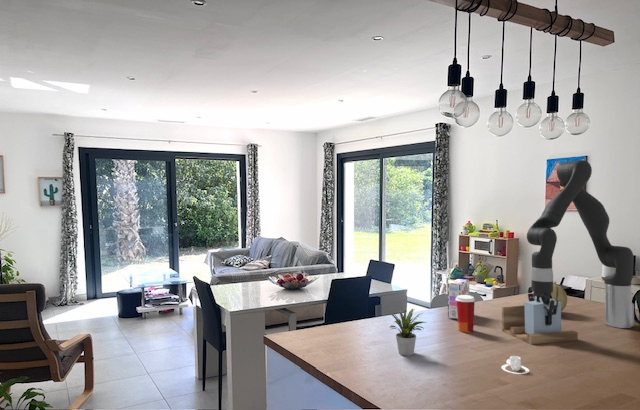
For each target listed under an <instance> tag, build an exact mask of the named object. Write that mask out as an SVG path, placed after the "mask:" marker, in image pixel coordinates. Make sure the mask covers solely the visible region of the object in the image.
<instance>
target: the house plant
mask: <svg viewBox="0 0 640 410" xmlns="http://www.w3.org/2000/svg"><path fill="white" fill-rule="evenodd" d="M406 306H407V305H405V307H404V311H403V312H402V311H401V310H400V309H398V313H399V317H400V318H398V316H397V315H396V314H395V312H394V311H390V312H388V314H389V315H390V316H392V317H393V318H394V319H395V320H394V323H395V324H397V325H398V327H399V328H398V327H397V326H396V325H393V324H391V325H390V326H388V327H389V329H390V330H398V331H399V332H398V333H395V337H396V338H395V339H396V343H397V344H396V345H397V351H398V354H400V355H402V356H412V355H414V354H415V347H416V340H417V335H416V334H415V333H413V332H414V331H417V330H418V331H421V332H423V330H425V328H424V327H423V326H421V325H420V324H425V323H428V322H427V321H426V322H425V321H416V320H417V319H418V318H419V317H420V315H422V314H423V312H421V313H419V314H417V315H416V316H415V317H413V318H412V316H413V313H414V311H415V310H416V309H415V308H411V309H410V310H409V312H408V314H407V310H406V309H407V307H406ZM419 325H420V326H419ZM422 329H423V330H422Z"/></svg>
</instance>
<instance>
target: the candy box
mask: <svg viewBox="0 0 640 410" xmlns="http://www.w3.org/2000/svg"><path fill="white" fill-rule="evenodd" d="M458 295H469V296H470V279H463V278H457V279H455V280H452V281H450V282H448V283H447V319H450V320H456V321H458V314H457V301H456V300H455V299H456V297H457V296H458Z"/></svg>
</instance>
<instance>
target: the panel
mask: <svg viewBox="0 0 640 410" xmlns="http://www.w3.org/2000/svg"><path fill="white" fill-rule="evenodd" d="M523 303H524V304H523V305H525V333H527V334H539V333H551V332H561V331H562V311H561V303H560V302H558V307H557V313H556V315H552V324H551V325H545V310H544V307H543V304H542V303H541V302H536V301H529V300H528V301H524V302H523ZM545 306H546V307H549V306H550V304H549V305H545ZM547 311H548V312H549V309H547ZM552 312H553V310H552Z"/></svg>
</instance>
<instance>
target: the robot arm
mask: <svg viewBox="0 0 640 410" xmlns="http://www.w3.org/2000/svg"><path fill="white" fill-rule="evenodd" d="M592 171H593V169H592V165H591V164H590V162H588V161H587V160H585V159H578V160H577V159H576V160H571V161H563V162H561V163H559V164H558V165H557V166H556V176H557V179H558V181H559V182H560V184H561V186H562V187H563V188H562V189H561V190H560V191H559V192H558V193H557V194H556V195H554V196H553V197H552V198H551V199H550V200H549V201H548V203H547V204H546V206H545V208H544V210H543V211H542V212H541V213H542V214H541V216H539V217H538V218H537V219H536V221H534V223H533V224H532V225H531V226H530V227H529V229H528V231H527V233H526V241H527V242H528V243H529V244H530V245H532V246H540V248H539V251H534V252H533V253H532V254H531V273H530V274H531V275H530V276H531V277H530V278H531V283H530V284H531V285H530V286H531V291H532V292H533V291H534V293H532V292H531V293H527V296H528V301H536V302H541V303H542V304H543V307H544V310H545V325H551V324H552V315H556V313H557V307H558V300H554V299H552V295H551V293H552V292H553V283H554V271H553V256H554V253H555V249H556V244H557V241H558V239H557V238H558V237H557V233H556V231H555V230H554V229H553V228H556V227H558V226H559V225H560V223H561V222H562V219H563V218H564V216H565V213H566V212H567V210H568V209H569V207H570V205H571V204H572V203H573V205H574V207H575V209H576V211H577V214H578V215H579V217H580V219H581V221H582V223H583V225H584V226H585V228H586V230H587V232H588V234H589V237H590V238H591V241H592V244H593V246H594V249H595V252H596V254H597V257H598V259H599V261H600V262H601V265H603V266H605V267H607V268H614V269H615V270H614V273H613V274H610V275H605V277H604V282H603V283H604V284H603V285H604V320H605V321H604V323H605V325H607V326H609V327H612V328H619V329H631V328H632V327H635V310H634V309H635V308H634V303H633V302H632V281H633V278H634V262H635V261H634V259H635V258H634V253H633V251H632V249H631V248H630V247H628V246H621V245H612V243H611V242H610V240H609V238H608V235H607V234H608V233H607V232H608V229H609V227H610V216H609V214H608V212H607V210H606V208H605V207H604V204H603V203H602V202H601V201H599V199H597V198H596V197H595V196H593V195H592V194H590V193H589V192H588V191H587V190H585V188H584V187H585V186H586V184H587V183H588V181H589V180H590V178H591V177H592V174H593V173H592ZM549 304H550V306H549V307H546V306H545V305H549ZM547 309H549V312H548V311H547ZM552 310H553V312H552Z"/></svg>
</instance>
